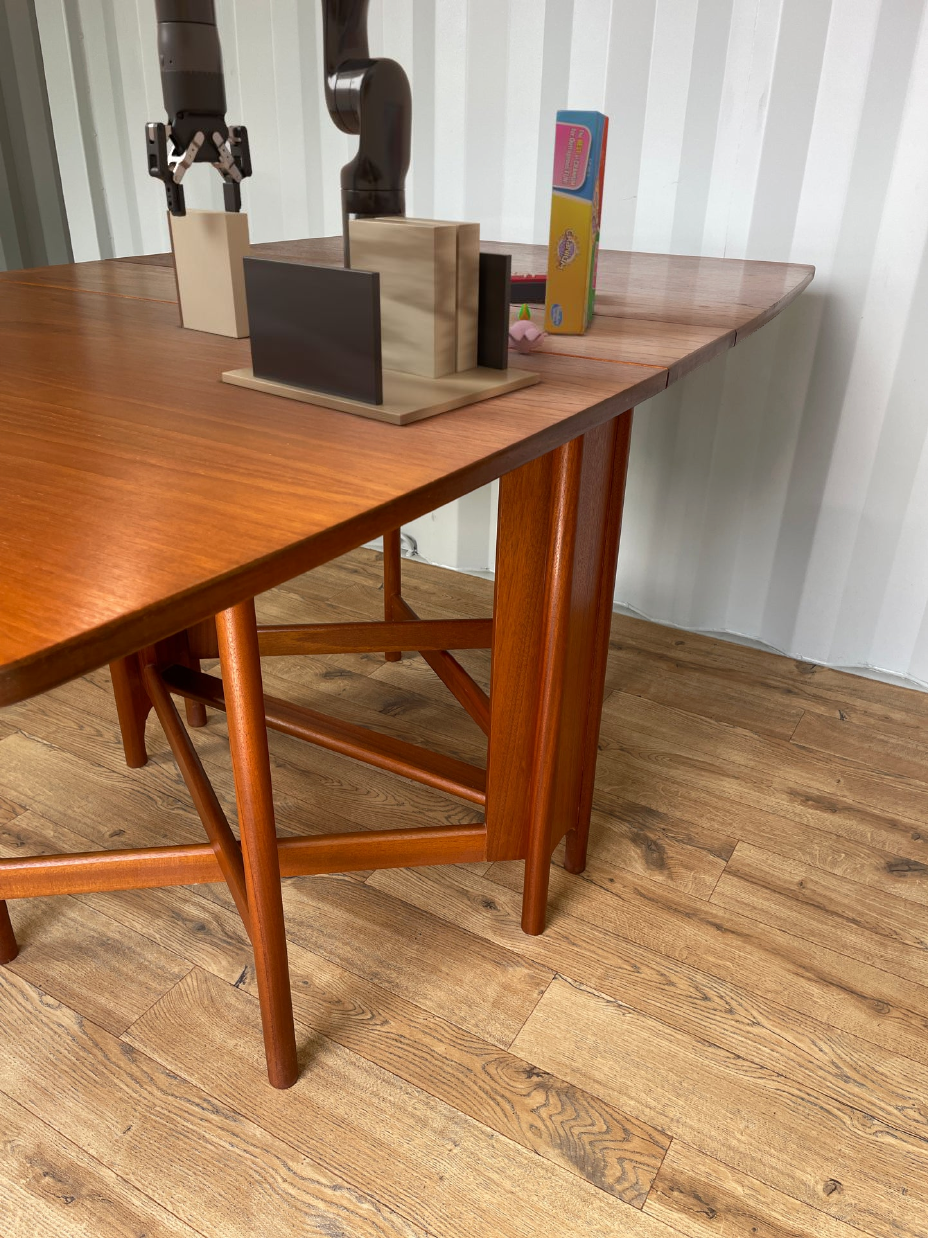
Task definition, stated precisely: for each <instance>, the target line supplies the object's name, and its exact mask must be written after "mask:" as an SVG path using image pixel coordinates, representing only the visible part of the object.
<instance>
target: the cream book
mask: <svg viewBox="0 0 928 1238" xmlns="http://www.w3.org/2000/svg"><path fill="white" fill-rule="evenodd" d="M166 217H167V225H168V233H169V241H170V248H171V257H172V266H173V273H174V281H175V289H176V296H177V305H178V313H179V321H180V327H181V328H185V329H190V330H194V331H199V332H204V333H210V334H214V335H218V336H225V337H229V338H234V339H241V338H246V337H250V335H249V324H248V313H247V302H246V291H245V280H244V269H243V258H242V257H244V256H252V251H251V240H250V231H249V230H250V229H249V219H248V213H247V212H246V213H245V212H240V213H236V212H225V210H224V211H223V210H212V209H211V210H210V209H201V208H199V209H198V208H186V216H184V217H177V216H173V215H172V214H171V211H169V209H167V210H166Z"/></svg>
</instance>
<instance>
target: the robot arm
mask: <svg viewBox="0 0 928 1238" xmlns="http://www.w3.org/2000/svg"><path fill="white" fill-rule="evenodd" d="M320 2H321V5H320V6H321V17H322V19H321V20H322V52H323V53H322V57H323V58H322V59H323V62H322V63H323V89H324V90H323V91H324V99H325V105H326V108H327V112H328V115H329V117H330V119H331V121H332V123H333V124H334V126H335V127H336V128H337V129H338V130H339V131H340V132H341V133H343V134H346V135H350V136H359V137H358V138H359V139H358V140H359V141H358V148H357V149H358V150H357V152H356V154H355V155H354V157H353V158H352V159H351V160H350V161H349V162H347V163H346V164H344V165H343V166H342V167H341V168H340V174H339V180H340V200H341V201H340V202H341V206H340V207H341V223H342V224H341V226H342V227H341V228H342V246H343V251H342V252H343V268H350V269H351V264H350V239H349V220H353V219H367V218H381V217H395V216H396V217H407V214H406V212H407V211H406V210H407V208H406V207H407V206H406V201H407V200H406V182H407V181H406V180H407V175H408V172H409V169H410V166H411V160H412V135H413V134H412V133H413V132H412V131H413V97H412V94H413V93H412V88H411V84H410V80H409V77H408V75H407V73H406V71H405V69H404V68H403V67H402V65H401V64H400V63H399V62H398V61H396V60H395V59H393V58H390V57H371V56H370V46H369V30H368V27H369V11H370V3H371V0H320ZM153 3H154V10H155V18H156V28H157V29H156V30H157V38H156V41H157V42H156V45H157V56H158V64H159V74H160V82H161V90H162V99H163V108H164V110H165V112H166V114H167V124H165V123H164V122H162V121H161V122H160V121H159V122H154V121H153V122H152V121H151V122H150V121H148V122H146V123H145V125H144V133H145V144H146V145H145V146H146V147H145V148H146V156H147V157H146V158H147V170H148V171H147V172H148V175H149V176H150V177H151V178H155V179H158V180H160V181H161V182H163V184H164V189H165V197H166V206H167V210H169V211H171V214H172V215H173V216H177V217H184V216H186V209H187V207H186V199H185V190H184V189H185V188H184V184H183V183H182V181H183V178H184V176H185V175H186V172H187V170H189V169H190V168H191V166H192V164H193V163H195V164H201V163H207V164H208V163H210V164H211V166H212V167H213V168H215V169H216V170H217V171H218V173H219V174H220V176H221V178H222V179H223V181H224V182H222V191H223V192H222V193H223V204H224V212H236V213H241V209H242V205H243V203H242V195H241V194H242V193H241V182H242V181H243V180H244V179H246V178H251V177H252V176H253V166H252V158H251V149H250V142H249V133H248V128H247V127H246V125H240V124H239V125H237V124H235V125H229V126H227V123H226V120H225V119H226V118H225V117H226V114H227V112H228V105H227V93H226V91H227V90H226V82H225V69H224V58H223V57H224V56H223V48H222V43H221V39H220V33H219V28H218V27H219V26H218V18H217V17H218V15H217V14H218V13H217V5H216V4H217V3H216V0H154V1H153ZM169 140H170V142H171V144H172V145H171V148H170V151H169V153H168V142H169ZM227 142H228V143H229V148H230V151H229V148H228V147H227V145H226V144H227Z"/></svg>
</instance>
